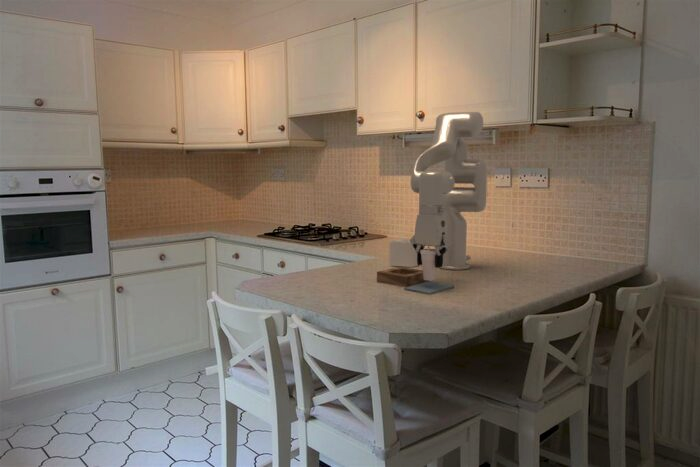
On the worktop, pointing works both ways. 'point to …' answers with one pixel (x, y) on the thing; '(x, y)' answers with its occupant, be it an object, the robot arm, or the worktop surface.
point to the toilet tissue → (402, 253)
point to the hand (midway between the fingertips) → (429, 265)
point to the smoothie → (428, 263)
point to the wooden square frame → (401, 276)
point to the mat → (429, 287)
